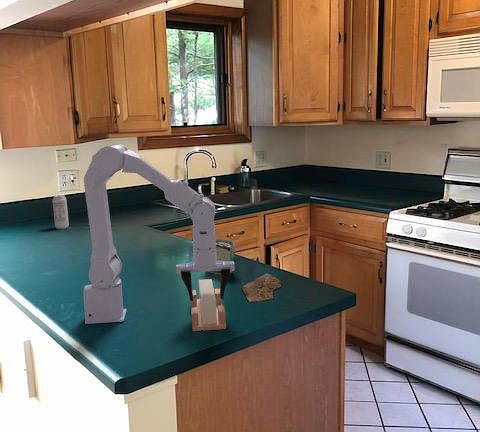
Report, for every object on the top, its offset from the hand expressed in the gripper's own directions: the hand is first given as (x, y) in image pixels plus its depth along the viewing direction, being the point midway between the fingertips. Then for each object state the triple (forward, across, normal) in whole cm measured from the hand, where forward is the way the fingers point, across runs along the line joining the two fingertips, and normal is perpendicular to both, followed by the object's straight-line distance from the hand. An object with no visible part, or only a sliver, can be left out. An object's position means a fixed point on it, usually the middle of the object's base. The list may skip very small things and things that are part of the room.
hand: (206, 298), depth 135 cm
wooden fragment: (+5, +17, +19) cm, 26 cm away
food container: (+5, +7, +37) cm, 38 cm away
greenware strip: (+3, 0, 0) cm, 3 cm away
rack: (+4, 0, 0) cm, 4 cm away
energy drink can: (+5, -61, +119) cm, 134 cm away
